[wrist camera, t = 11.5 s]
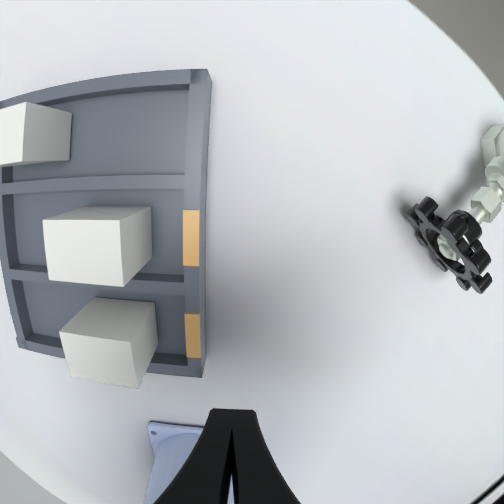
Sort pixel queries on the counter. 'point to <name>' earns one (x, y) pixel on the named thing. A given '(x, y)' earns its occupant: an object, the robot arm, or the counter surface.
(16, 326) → the grey divided tray
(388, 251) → the counter surface
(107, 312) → the pale grey block
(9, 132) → the off-white plastic block
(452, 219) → the valve
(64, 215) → the off-white block
